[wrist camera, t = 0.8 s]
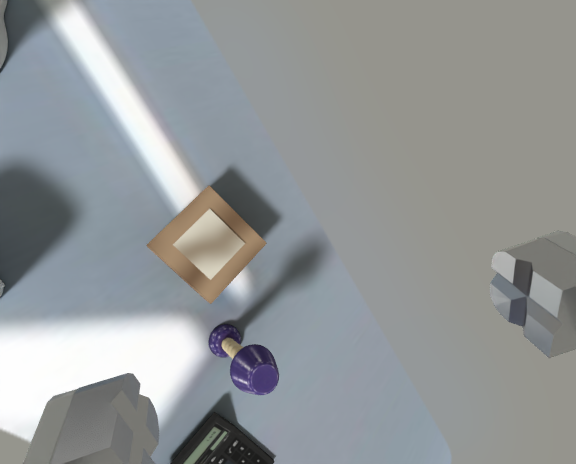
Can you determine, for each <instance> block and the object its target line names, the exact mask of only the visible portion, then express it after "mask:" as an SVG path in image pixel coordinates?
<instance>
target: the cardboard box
mask: <svg viewBox="0 0 576 464" xmlns="http://www.w3.org/2000/svg"><path fill="white" fill-rule="evenodd" d="M265 245H266V242H265V241H264V240H263V239H262V238H261V237H260V236H259V235H258V234H257V233H256V232H255V231H254V230H253V229H252V228H251V227H250V226H249V225H248V224H247V223H246V222H245V221H244V220H243V219H242V218H241V217H240V216H239V215H238V214H237V213H236V212H235V211H234V210H233V209H232V208H231V207H230V206H229V205H228V204H227V203H226V202H225V201H224V200H223V199H222V198H221V197H220V196H219V195H218V194H217V193H216V192H215V191H214V190H213V189H212V188H211V187H210V186H208V187H207V188H206V189H205V190H204V191H203V192H202V193H200V194H199V195H198V196H197V197H196V198H195V199H194V200H193V201H192V202H191V203H190V204H189V205H188V206H187V207H186V208H185V209H184V210H183V211H182V212H181V213H180V214H179V215H178V216H176V217H175V218H174V219H173V220H172V221H171V222H170V223H169V224H168V225H167V226H166V227H165V228H164V229H163V230H162V231H161V232H160V233H159V234H158V235H157V236H156V237H155V238H153V239H152V240H151V241H150V242H149V243H148V244H147V247H148V248H149V249H150V250H151V251H153V252H154V253H155V254H156V255H157V256H158V257H159V258H160V259H161V260H162V261H163V262H165V263H166V264H167V265H168V266H169V267H170V268H171V269H172V270H173V271H174V272H175V273H177V274H178V275H179V276H180V277H181V278H182V279H183V280H184V281H185V282H186V283H188V284H189V285H190V286H191V287H192V288H193V289H194V290H195V291H196V292H197V293H198V294H200V295H201V296H202V297H203V298H204V299H205V300H206V301H208V302H209V303H210V304H211V303H212V302H213V301H214V300H215V299H216V298H217V297H218V296H219V294H220V293H221V292H222V291H223V290H224V289H225V288H226V287H227V286H228V285H229V284H230V283H231V281H232V280H233V279H234V278H235V277H236V276H237V275H238V274H239V273H240V272H241V271H242V270H243V268H244V267H245V266H246V265H247V264H248V263H249V262H250V261H251V260H252V259H253V258H254V256H255V255H256V254H257V253H258V252H259V251H260V250H261V249H262V248H263V247H264V246H265Z"/></svg>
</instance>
